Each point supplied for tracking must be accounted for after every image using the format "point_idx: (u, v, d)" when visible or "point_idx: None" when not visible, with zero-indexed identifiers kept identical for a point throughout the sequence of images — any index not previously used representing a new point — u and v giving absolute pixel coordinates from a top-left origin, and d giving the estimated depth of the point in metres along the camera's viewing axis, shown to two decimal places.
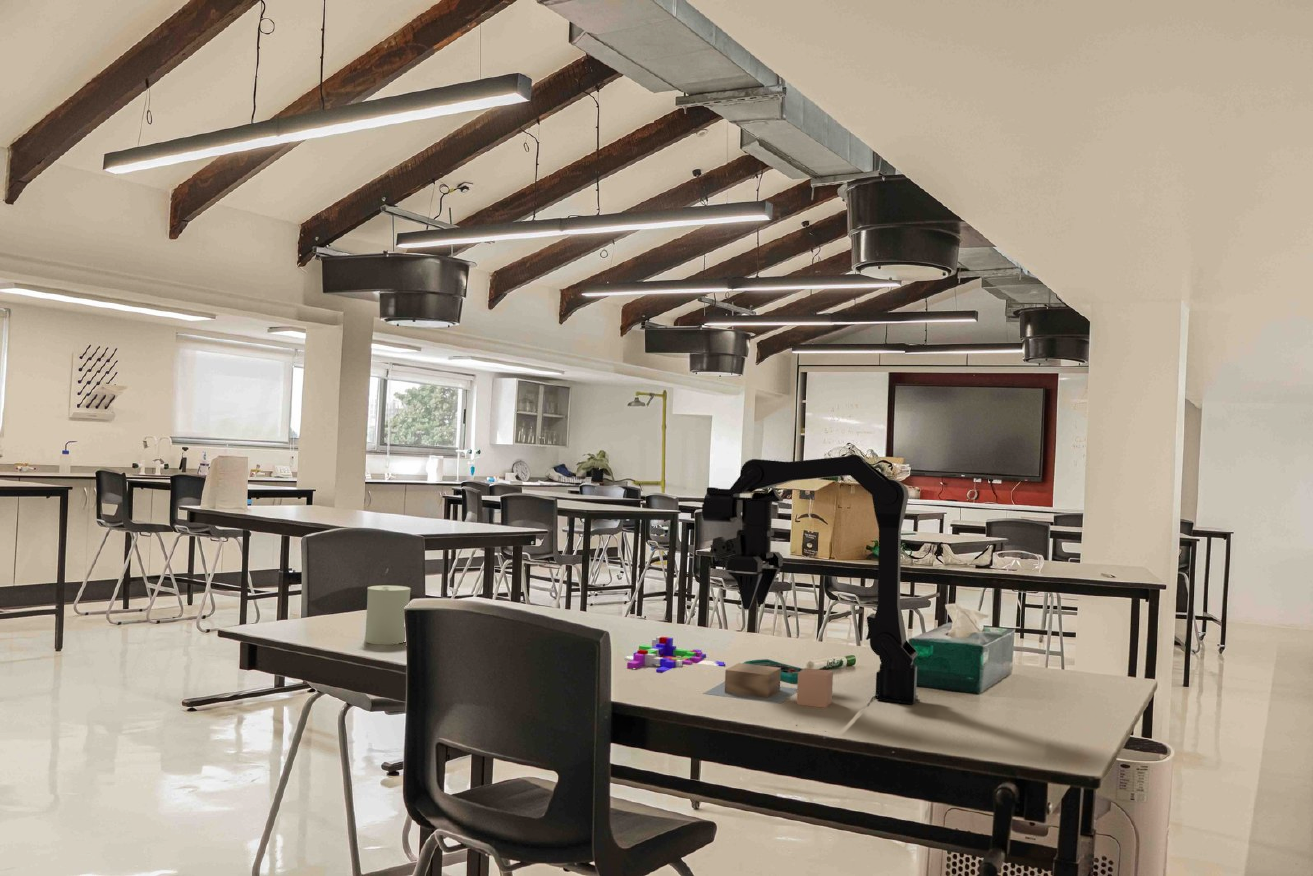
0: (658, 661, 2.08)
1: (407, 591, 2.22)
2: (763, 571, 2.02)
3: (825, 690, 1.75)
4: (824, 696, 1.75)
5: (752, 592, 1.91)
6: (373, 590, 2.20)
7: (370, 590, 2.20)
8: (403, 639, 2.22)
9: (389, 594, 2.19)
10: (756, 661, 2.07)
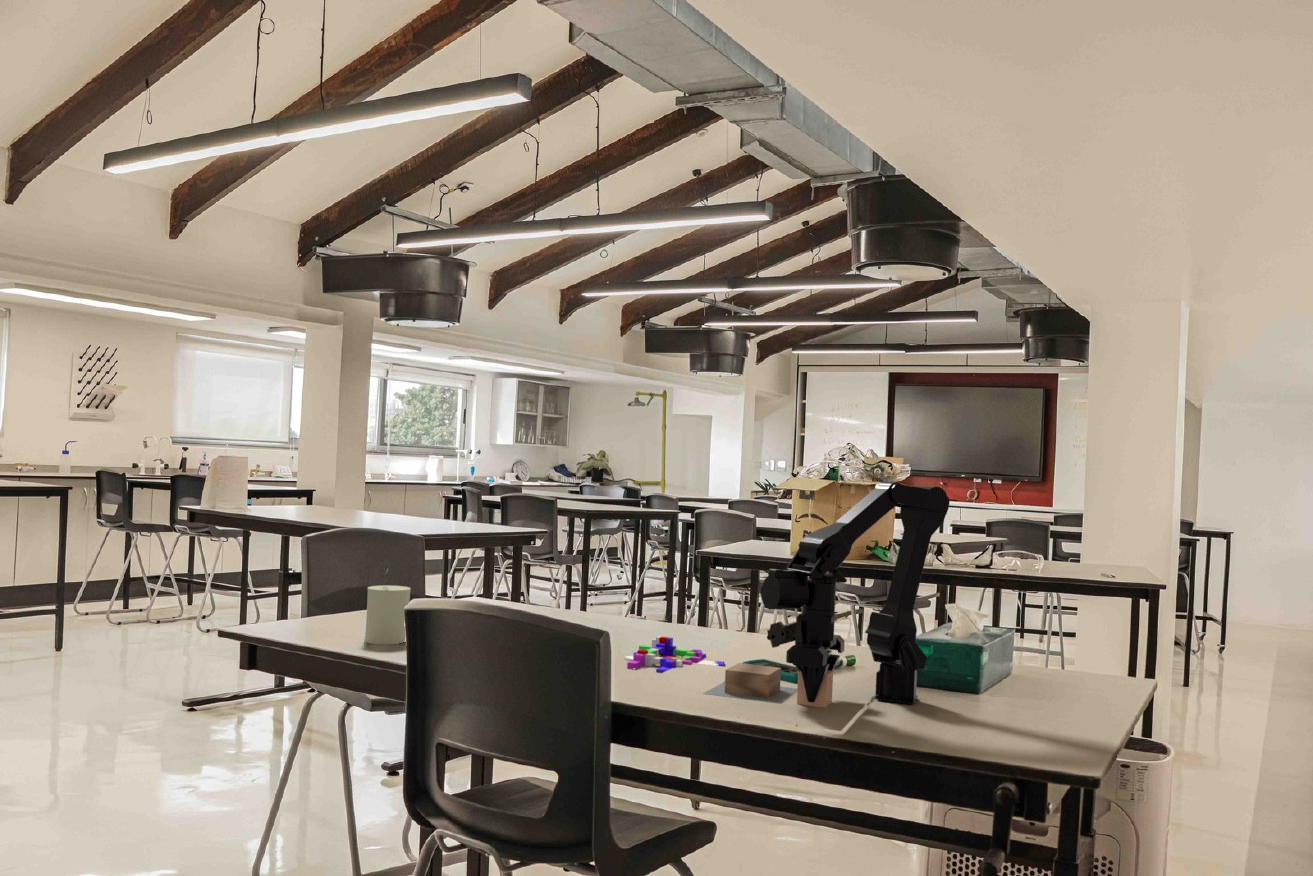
0: (658, 661, 2.08)
1: (407, 591, 2.22)
2: None
3: (825, 690, 1.75)
4: (824, 696, 1.75)
5: (818, 684, 1.74)
6: (373, 590, 2.20)
7: (370, 590, 2.20)
8: (403, 639, 2.22)
9: (389, 594, 2.19)
10: (754, 661, 2.07)
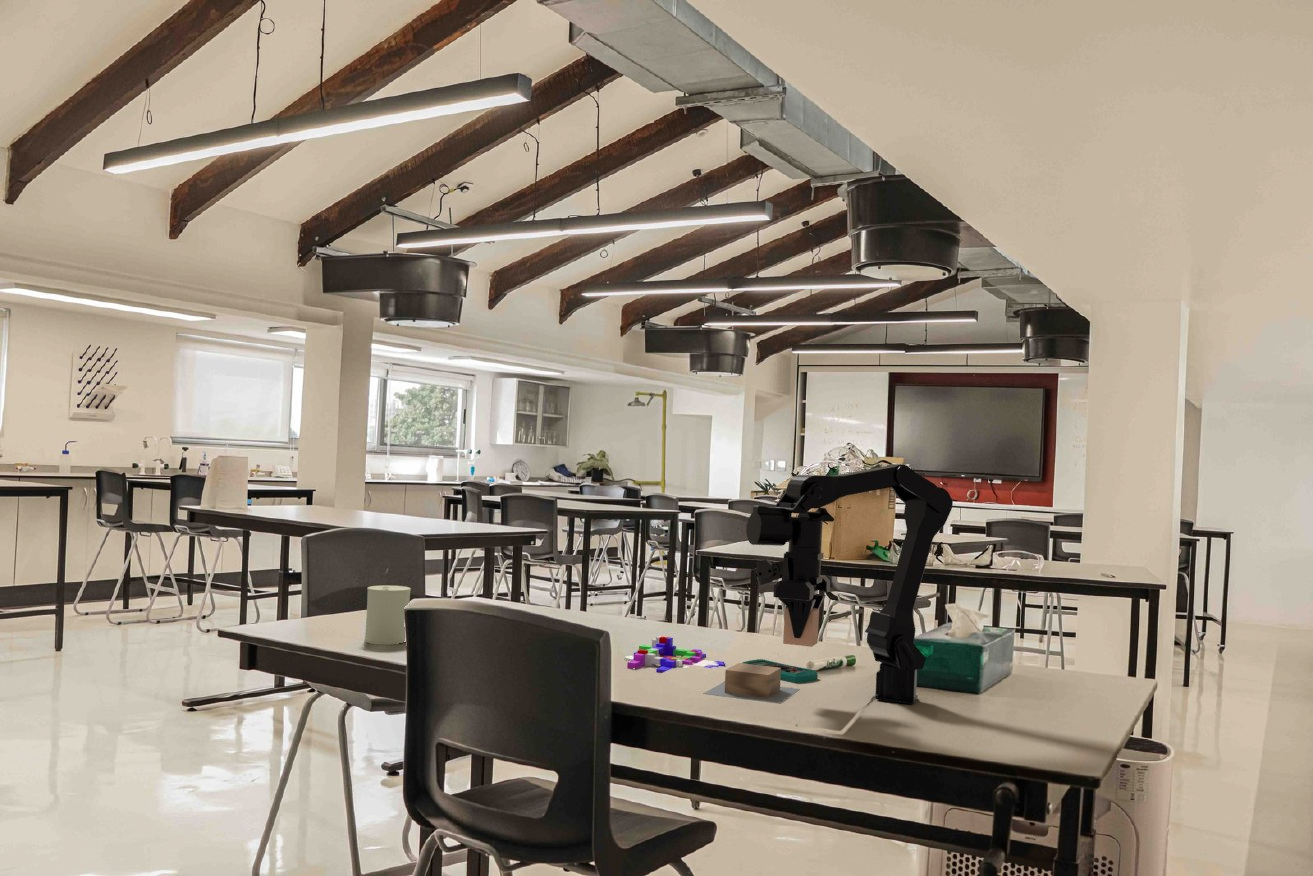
0: (658, 661, 2.08)
1: (407, 591, 2.22)
2: None
3: (811, 626, 1.77)
4: (810, 631, 1.77)
5: (804, 620, 1.76)
6: (373, 590, 2.20)
7: (370, 590, 2.20)
8: (403, 639, 2.22)
9: (389, 594, 2.19)
10: (752, 661, 2.07)
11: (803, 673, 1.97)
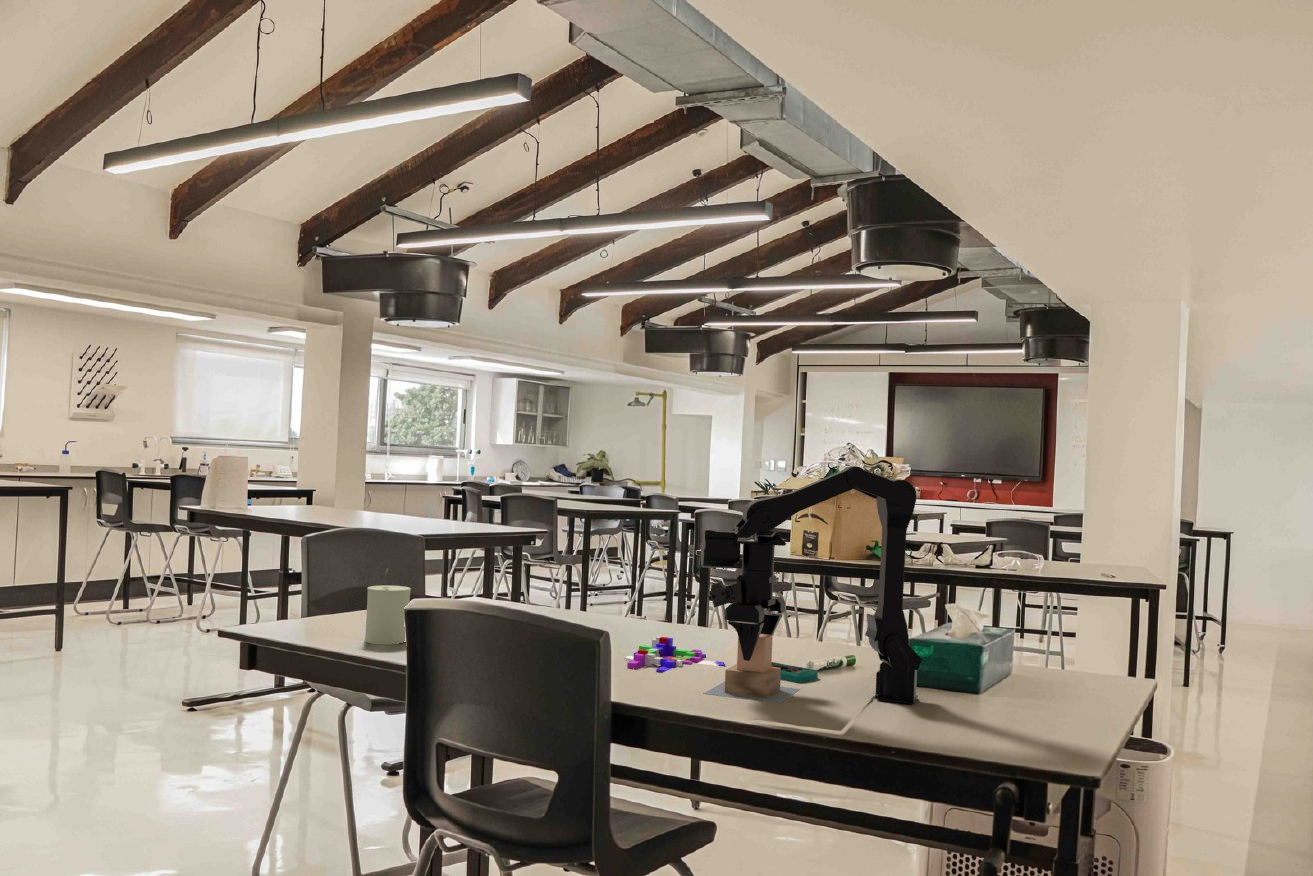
0: (658, 661, 2.08)
1: (407, 591, 2.22)
2: (764, 618, 1.91)
3: (764, 652, 1.83)
4: (763, 658, 1.83)
5: (753, 643, 1.80)
6: (373, 590, 2.20)
7: (370, 590, 2.20)
8: (403, 639, 2.22)
9: (389, 594, 2.19)
10: None
11: (805, 673, 1.97)
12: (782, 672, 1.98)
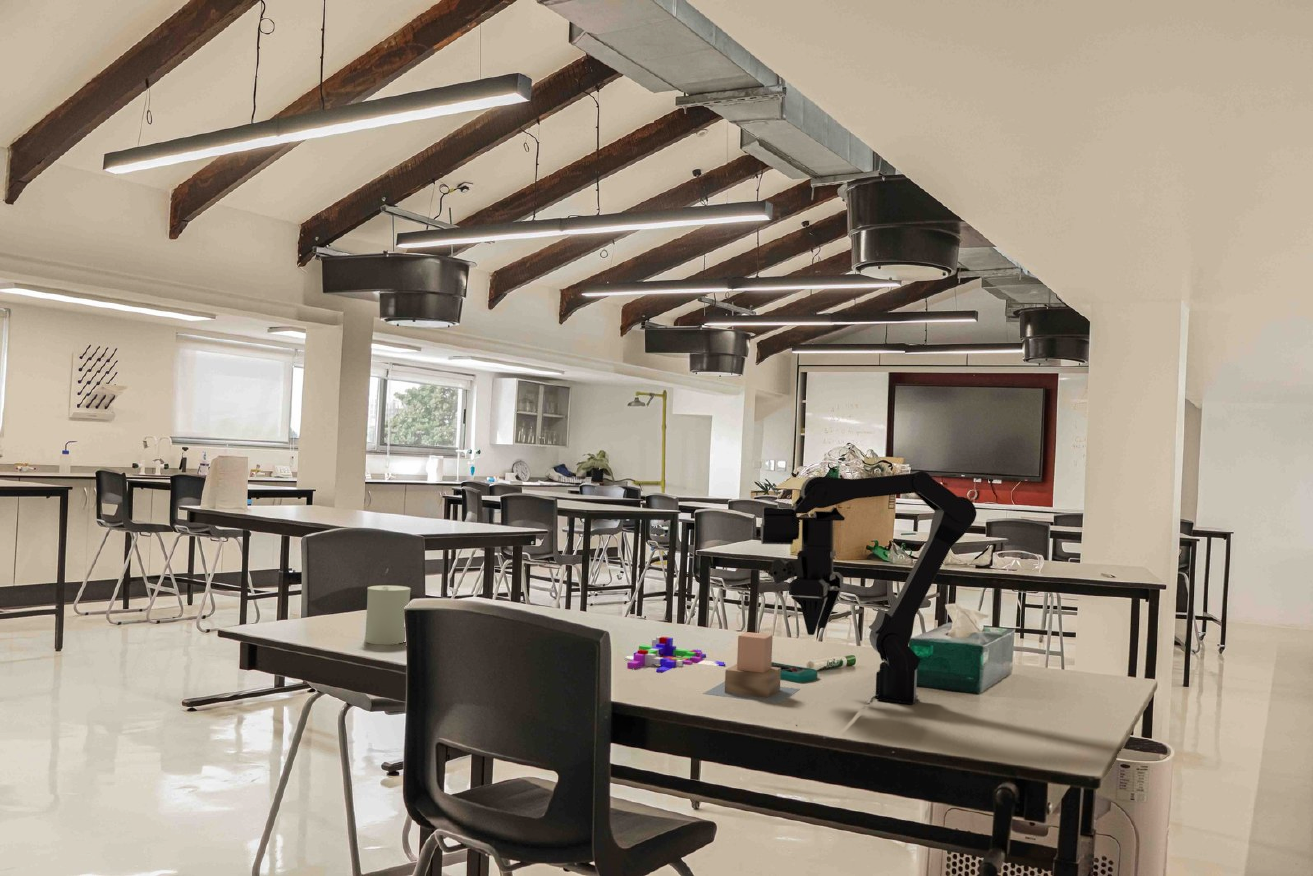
0: (658, 661, 2.08)
1: (407, 591, 2.22)
2: None
3: (764, 652, 1.83)
4: (763, 658, 1.83)
5: (817, 617, 1.82)
6: (373, 590, 2.20)
7: (370, 590, 2.20)
8: (403, 639, 2.22)
9: (389, 594, 2.19)
10: None
11: (805, 672, 1.97)
12: (783, 672, 1.98)
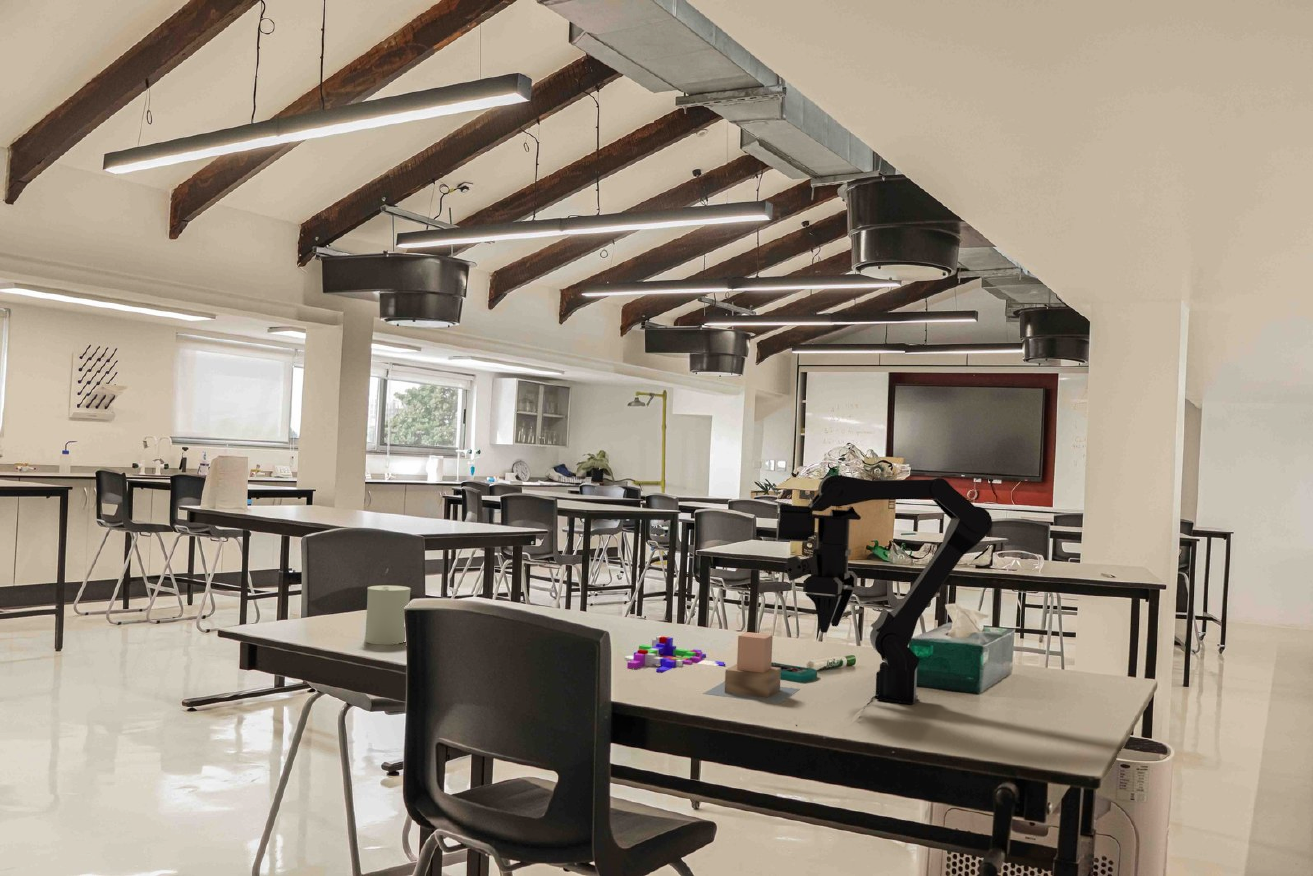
0: (658, 661, 2.08)
1: (407, 591, 2.22)
2: None
3: (764, 652, 1.83)
4: (763, 658, 1.83)
5: (830, 615, 1.82)
6: (373, 590, 2.20)
7: (370, 590, 2.20)
8: (403, 639, 2.22)
9: (389, 594, 2.19)
10: None
11: (806, 672, 1.98)
12: (784, 672, 1.98)
